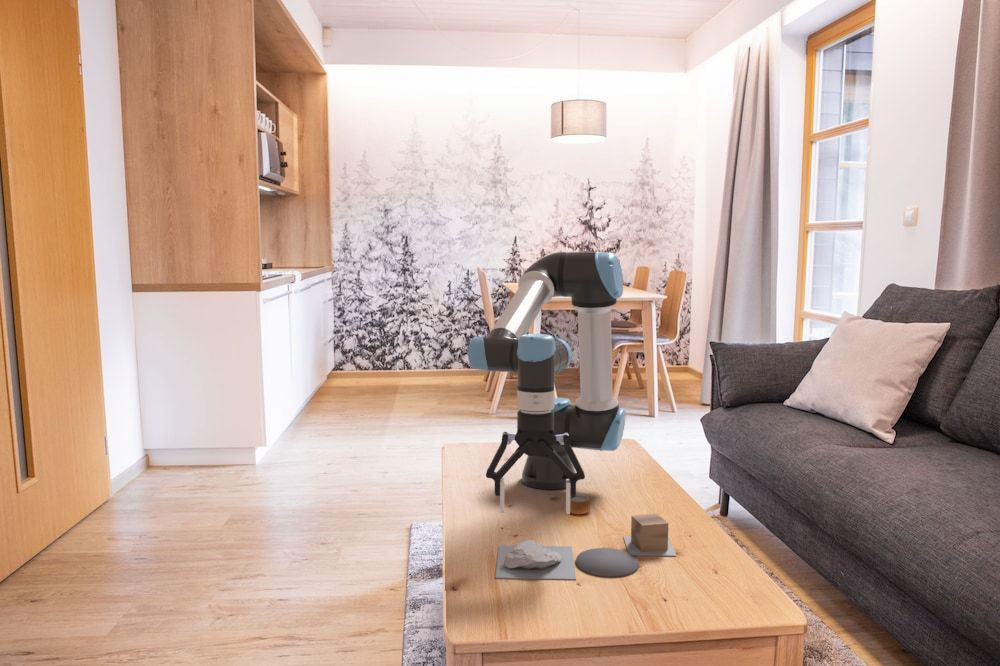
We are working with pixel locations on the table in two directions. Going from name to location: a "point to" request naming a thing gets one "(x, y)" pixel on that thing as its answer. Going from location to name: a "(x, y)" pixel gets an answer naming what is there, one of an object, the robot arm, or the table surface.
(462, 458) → the table surface
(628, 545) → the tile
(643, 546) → the walnut block
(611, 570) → the coaster
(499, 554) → the tile
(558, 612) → the table surface
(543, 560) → the stone
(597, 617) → the table surface
